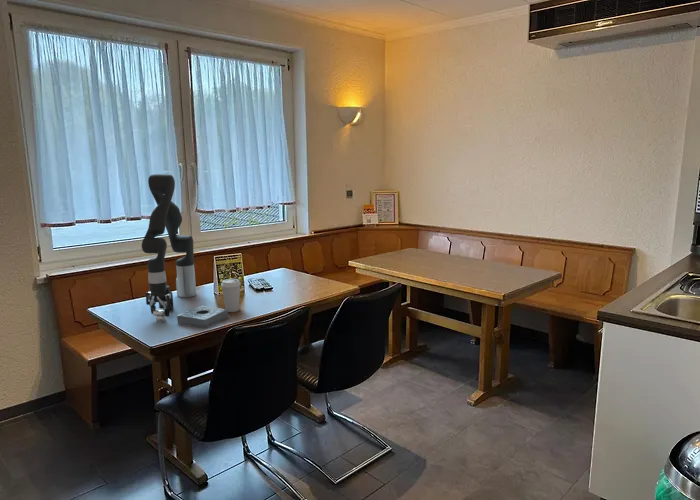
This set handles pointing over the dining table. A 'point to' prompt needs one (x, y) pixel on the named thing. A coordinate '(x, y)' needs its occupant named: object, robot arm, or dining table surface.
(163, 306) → the supplement bottle
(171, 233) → the robot arm
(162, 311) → the bushing
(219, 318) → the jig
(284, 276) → the dining table surface
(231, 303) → the coffee cup
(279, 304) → the dining table surface
